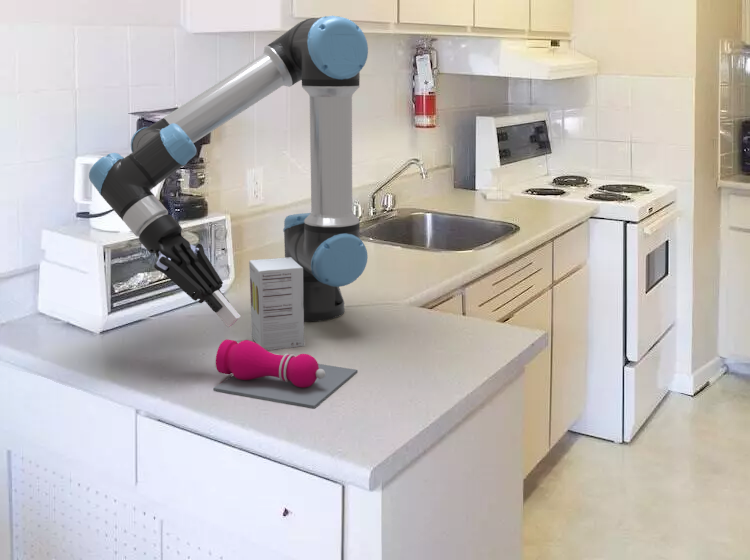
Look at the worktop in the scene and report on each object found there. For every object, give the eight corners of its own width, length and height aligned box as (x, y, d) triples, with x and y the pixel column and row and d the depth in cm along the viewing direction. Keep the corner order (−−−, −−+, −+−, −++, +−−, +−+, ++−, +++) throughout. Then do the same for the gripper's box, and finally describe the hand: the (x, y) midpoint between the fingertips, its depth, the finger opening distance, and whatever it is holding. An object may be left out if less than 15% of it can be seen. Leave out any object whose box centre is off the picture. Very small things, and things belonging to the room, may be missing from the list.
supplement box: (250, 337, 178) (247, 259, 174) (293, 332, 181) (291, 256, 177) (261, 352, 170) (258, 270, 165) (305, 346, 173) (303, 266, 168)
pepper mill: (236, 342, 159) (335, 360, 153) (225, 379, 157) (325, 399, 151) (221, 331, 153) (324, 349, 147) (209, 370, 150) (314, 389, 145)
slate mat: (213, 390, 150) (213, 387, 150) (264, 357, 166) (264, 355, 166) (314, 408, 143) (314, 405, 143) (357, 372, 159) (357, 369, 159)
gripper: (163, 231, 165) (241, 323, 163) (120, 245, 154) (203, 344, 152) (185, 207, 162) (264, 300, 160) (142, 219, 150) (227, 319, 148)
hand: (234, 321), depth 156 cm, fingers closed
